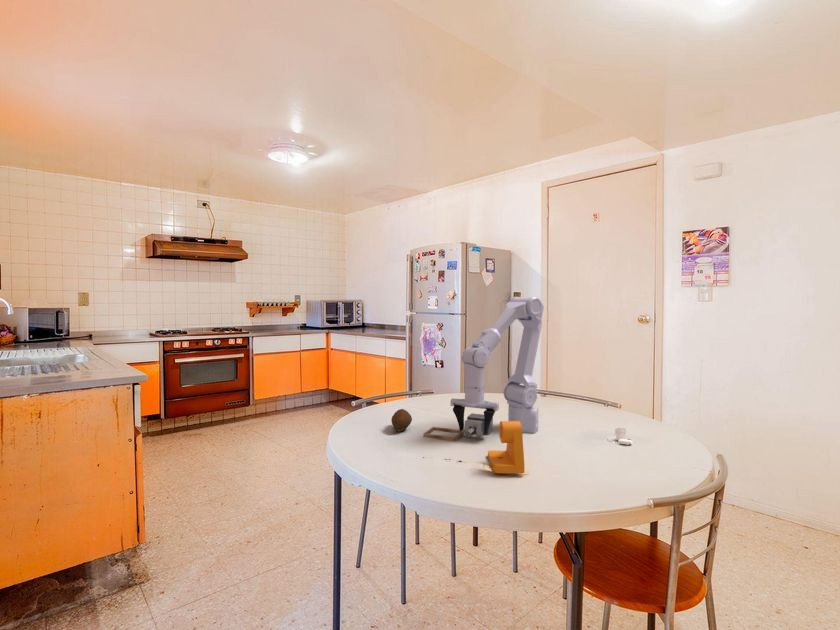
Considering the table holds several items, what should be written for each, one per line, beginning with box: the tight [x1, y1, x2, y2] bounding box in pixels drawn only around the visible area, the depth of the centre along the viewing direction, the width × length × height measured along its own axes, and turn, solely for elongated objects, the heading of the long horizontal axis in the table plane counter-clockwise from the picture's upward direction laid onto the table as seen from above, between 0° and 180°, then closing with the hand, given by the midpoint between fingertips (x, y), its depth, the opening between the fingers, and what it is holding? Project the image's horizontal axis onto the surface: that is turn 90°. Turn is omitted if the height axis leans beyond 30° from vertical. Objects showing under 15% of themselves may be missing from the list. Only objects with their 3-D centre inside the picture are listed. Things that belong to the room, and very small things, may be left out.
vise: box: [466, 412, 494, 435], centre depth 135 cm, size 7×15×6 cm, turn 157°
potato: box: [391, 408, 413, 432], centre depth 143 cm, size 7×12×7 cm, turn 3°
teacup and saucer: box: [613, 427, 634, 446], centre depth 134 cm, size 9×8×4 cm
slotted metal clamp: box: [464, 418, 484, 440], centre depth 132 cm, size 5×2×5 cm, turn 67°
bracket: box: [487, 420, 525, 474], centre depth 111 cm, size 11×7×12 cm, turn 1°
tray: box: [422, 426, 465, 442], centre depth 134 cm, size 10×8×2 cm
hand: (473, 431), depth 132 cm, fingers open, 7 cm apart
